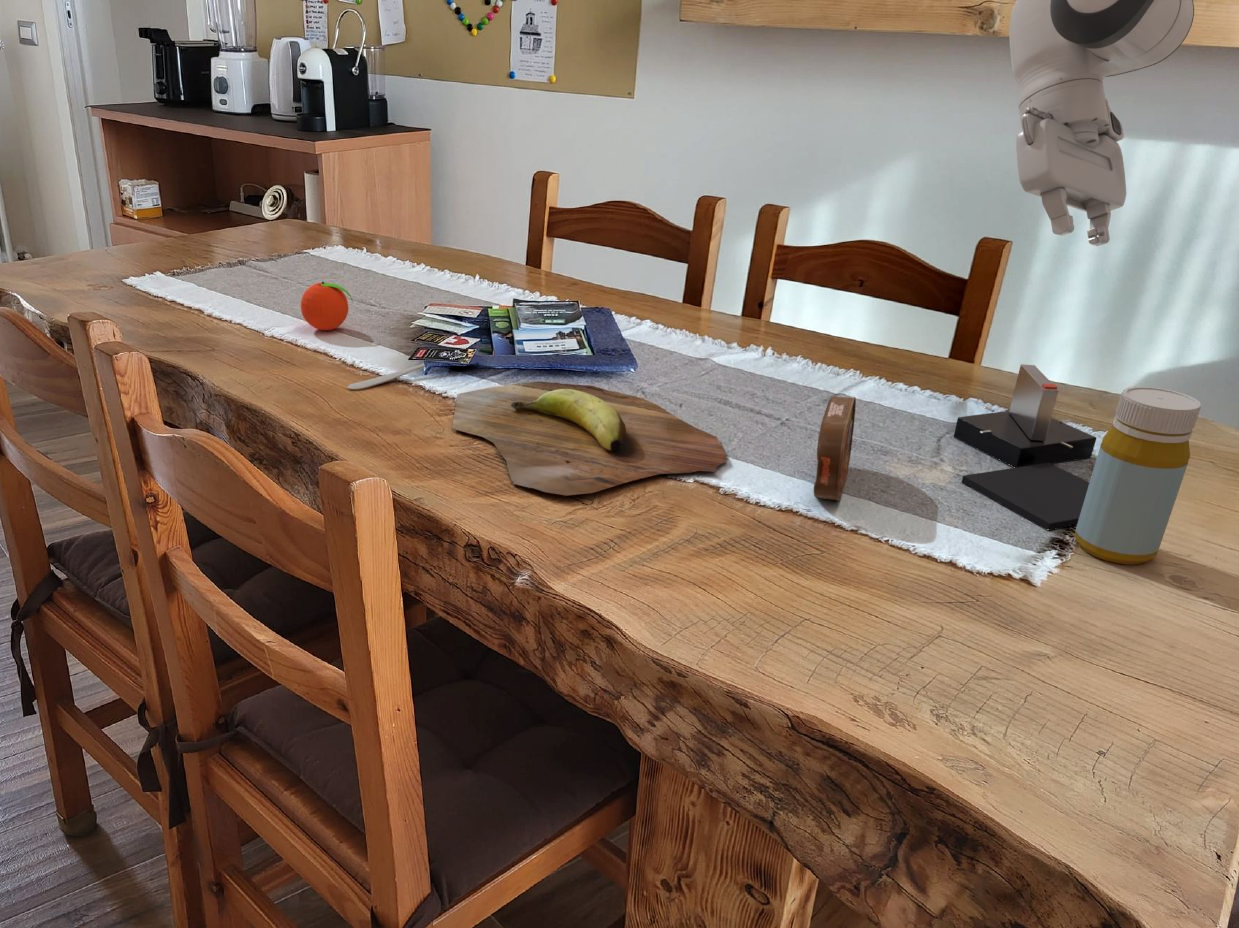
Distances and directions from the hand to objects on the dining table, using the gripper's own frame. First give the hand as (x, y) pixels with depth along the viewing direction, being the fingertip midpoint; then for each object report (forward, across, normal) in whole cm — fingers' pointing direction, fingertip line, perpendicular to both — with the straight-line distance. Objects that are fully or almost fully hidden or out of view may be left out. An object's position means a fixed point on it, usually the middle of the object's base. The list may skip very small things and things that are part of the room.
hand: (1082, 239), depth 119 cm
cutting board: (+15, -45, +40) cm, 62 cm away
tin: (+25, -32, +16) cm, 44 cm away
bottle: (+35, -22, -7) cm, 42 cm away
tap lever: (+21, -6, +7) cm, 22 cm away
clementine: (-9, -50, +86) cm, 100 cm away
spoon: (+3, -50, +64) cm, 81 cm away
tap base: (+23, -5, +8) cm, 25 cm away
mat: (+29, -16, +1) cm, 33 cm away
